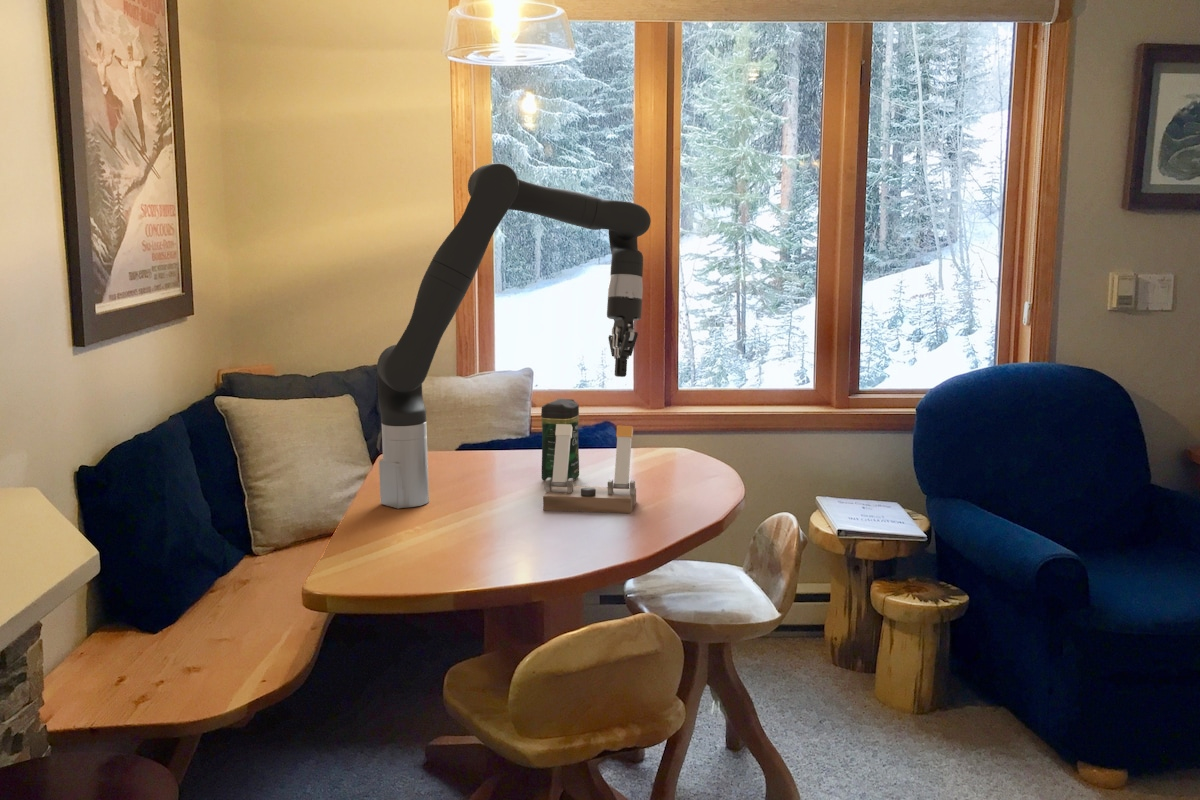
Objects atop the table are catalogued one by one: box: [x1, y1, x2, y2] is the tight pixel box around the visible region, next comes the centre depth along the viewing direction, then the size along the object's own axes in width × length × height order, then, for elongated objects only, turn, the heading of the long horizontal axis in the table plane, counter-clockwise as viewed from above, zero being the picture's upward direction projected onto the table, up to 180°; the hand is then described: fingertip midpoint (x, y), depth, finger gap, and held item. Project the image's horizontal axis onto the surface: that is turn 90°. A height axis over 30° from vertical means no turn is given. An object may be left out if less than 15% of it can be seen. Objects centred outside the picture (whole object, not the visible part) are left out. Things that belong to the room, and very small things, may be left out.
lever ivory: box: [551, 424, 573, 487], centre depth 220 cm, size 2×3×13 cm, turn 81°
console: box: [542, 478, 637, 514], centre depth 217 cm, size 9×18×6 cm, turn 81°
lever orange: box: [613, 424, 634, 489], centre depth 218 cm, size 2×3×13 cm, turn 81°
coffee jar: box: [540, 398, 580, 482], centre depth 239 cm, size 10×8×19 cm
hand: (620, 376), depth 228 cm, fingers closed
